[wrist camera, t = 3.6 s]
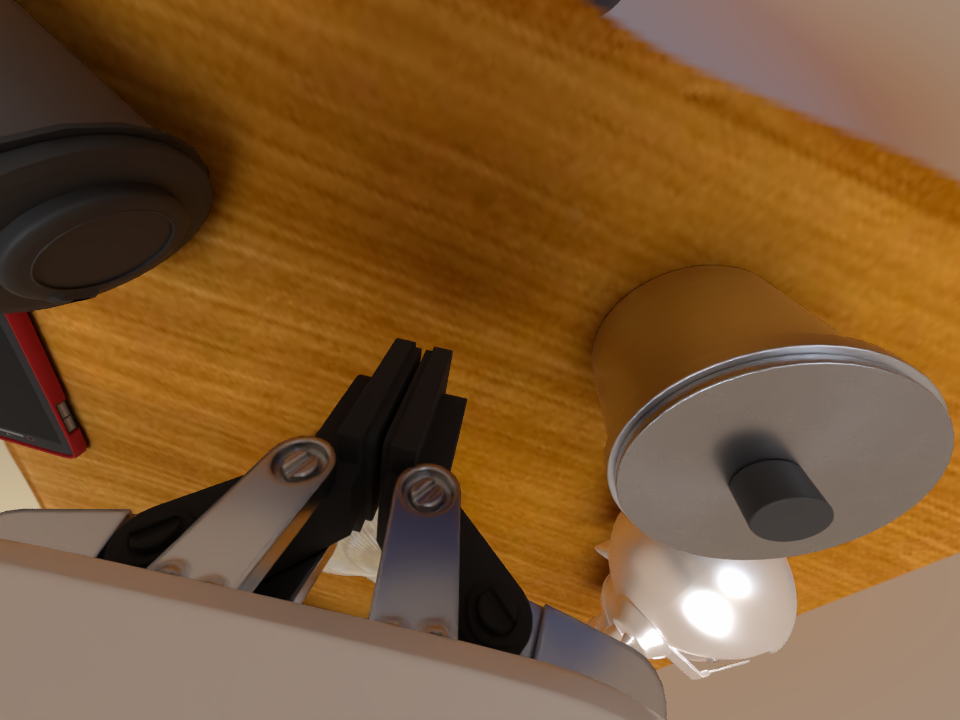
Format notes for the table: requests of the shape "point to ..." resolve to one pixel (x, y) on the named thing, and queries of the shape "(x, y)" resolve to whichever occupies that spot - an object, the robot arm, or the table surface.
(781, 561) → the figurine
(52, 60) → the coffee cup
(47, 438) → the cell phone
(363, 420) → the robot arm
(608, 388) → the pot
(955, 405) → the table surface
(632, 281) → the table surface
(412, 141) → the table surface
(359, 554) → the seashell
